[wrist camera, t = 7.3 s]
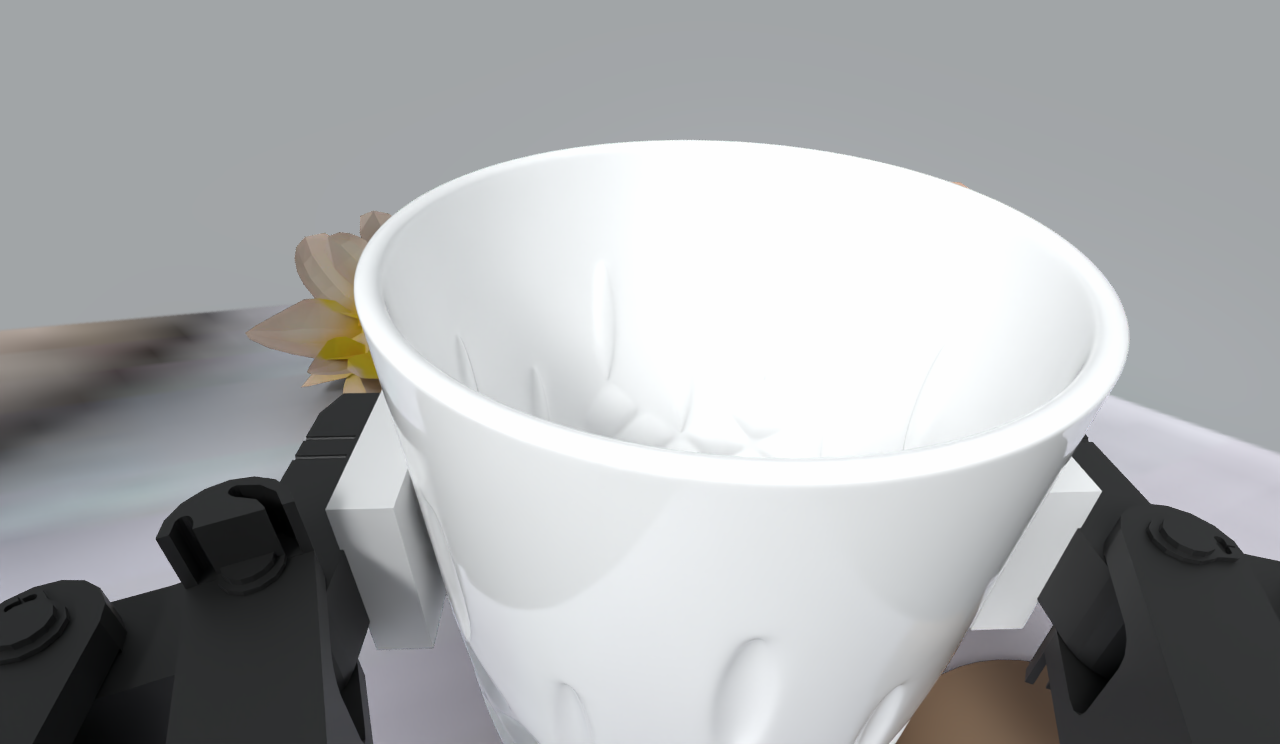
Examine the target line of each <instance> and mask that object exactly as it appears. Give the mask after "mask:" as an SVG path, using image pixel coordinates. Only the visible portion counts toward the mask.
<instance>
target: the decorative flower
mask: <svg viewBox="0 0 1280 744" xmlns="http://www.w3.org/2000/svg"><path fill="white" fill-rule="evenodd" d="M390 217H391V215H390V214H387V213H382V212H377V211H371V212H369V213H367V214H364V215H362V216H360V235H361V238H360V237H358V236H355V235H352V234H350V233H341V232H339V233H336V234H333V235H331V236H329V235H327V234H325V233H321V234H317V235H312V236H307V237H305V238H304V239H303V240H302V241H301V242H300V243H299V245H298V246H297V247H296V252H295V263H296V268H297V272H298V274H299V276H300V278H301V280H302V282H303V284H304V285H305V286H306V288H307V289H308V290H309V291H310V293H311V294H312V295H313V296H314V298H315V299H304V300H302V301H300V302H298V303H297V304H295V305H293V306H291V307H289V308H287V309H285V310H283V311H282V312H280V313H278V314H276V315H274V316H272V317H271V318H269V319H267V320H265V321H263V322H262V323H260V324H258V325H256V326H255V327H253V328H252V329H250V330H249V331H248V332H246V335H247V336H248V338H249V339H251V340H253V341H255V342H257V343H259V344H261V345H264V346H266V347H268V348H271V349H275V350H278V351H282V352H286V353H290V354H294V355H300V356H305V357H311V358H315V359H314V361H313V362H312V364H311V365H310V367H309V369H308V371H307V372H308V373H310V374H311V376H310V377H309V378H308V380H307V381H306V382H305V383H304V384H303V386H302V387H306V386H312V385H316V384H319V383H324V382H329V381H334V380H338V379H343V378H346V380H345V384H344V388H343V394H344V393H381V391H382V387H381V384H380V381H379V378H378V375H377V372H376V369H375V366H374V363H373V360H372V357H371V354H370V351H369V348H368V344H367V341H366V338H365V335H364V332H363V329H362V326H361V323H360V320H359V317H358V314H357V310H356V306H355V300H354V277H355V271H356V267H357V264H358V261H359V259H360V256H361V254H362V252H363V250H364V248H365V247H366V245H367V243H368V242H369V240H370V239H371V238H372V236H373V235H374V234H375V232H376V231H377V230H378V229H379V228H380V227H381V226H382V225H383V224H384V223H385V222H386V221H387V220H388V219H389V218H390ZM302 387H301V388H302Z"/></svg>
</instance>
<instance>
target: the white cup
mask: <svg viewBox="0 0 1280 744" xmlns="http://www.w3.org/2000/svg"><path fill="white" fill-rule="evenodd" d="M354 300H355V306H356V310H357V314H358V317H359V320H360V323H361V326H362V329H363V332H364V335H365V338H366V341H367V344H368V348H369V351H370V354H371V357H372V360H373V363H374V366H375V369H376V372H377V375H378V378H379V381H380V384H381V387H382V391H383V394H384V397H385V400H386V403H387V406H388V409H389V412H390V415H391V418H392V421H393V425H394V428H395V431H396V434H397V437H398V440H399V443H400V446H401V449H402V452H403V456H404V459H405V462H406V465H407V468H408V471H409V475H410V478H411V481H412V484H413V487H414V490H415V494H416V497H417V500H418V503H419V506H420V510H421V513H422V516H423V519H424V522H425V526H426V529H427V532H428V535H429V538H430V542H431V545H432V548H433V551H434V555H435V558H436V561H437V564H438V567H439V571H440V574H441V577H442V580H443V583H444V587H445V590H446V593H447V596H448V599H449V603H450V606H451V609H452V612H453V615H454V618H455V620H456V623H457V625H458V628H459V631H460V633H461V636H462V638H463V641H464V644H465V646H466V649H467V651H468V654H469V657H470V659H471V662H472V664H473V667H474V671H475V675H476V679H477V682H478V685H479V688H480V690H481V693H482V696H483V698H484V701H485V703H486V706H487V709H488V711H489V713H490V716H491V718H492V721H493V723H494V725H495V728H496V730H497V732H498V734H499V736H500V738H501V741H502V743H503V744H896V742H897V741H898V739H899V737H900V736H901V734H902V733H903V731H904V729H905V728H906V726H907V724H908V723H909V721H910V719H911V718H912V716H913V715H914V714H915V712H916V711H917V709H918V708H919V706H920V705H921V704H922V702H923V701H924V699H925V698H926V697H927V695H928V694H929V692H930V691H931V689H932V688H933V686H934V685H935V684H936V682H937V681H938V679H939V678H940V676H941V675H942V673H943V671H944V670H945V668H946V667H947V665H948V664H949V662H950V660H951V659H952V657H953V655H954V654H955V652H956V650H957V649H958V647H959V645H960V643H961V642H962V640H963V638H964V637H965V635H966V633H967V631H968V630H969V628H970V626H971V625H972V623H973V621H974V620H975V618H976V616H977V615H978V613H979V611H980V609H981V608H982V606H983V604H984V603H985V601H986V599H987V598H988V596H989V594H990V593H991V591H992V589H993V588H994V586H995V584H996V582H997V581H998V579H999V577H1000V576H1001V574H1002V572H1003V571H1004V569H1005V567H1006V566H1007V564H1008V562H1009V560H1010V559H1011V557H1012V555H1013V554H1014V552H1015V550H1016V549H1017V547H1018V545H1019V544H1020V542H1021V540H1022V538H1023V537H1024V535H1025V533H1026V532H1027V530H1028V528H1029V527H1030V525H1031V523H1032V522H1033V520H1034V518H1035V517H1036V515H1037V513H1038V511H1039V510H1040V508H1041V506H1042V505H1043V503H1044V501H1045V500H1046V498H1047V496H1048V495H1049V493H1050V491H1051V490H1052V488H1053V486H1054V485H1055V483H1056V481H1057V480H1058V478H1059V476H1060V475H1061V473H1062V471H1063V470H1064V468H1065V466H1066V465H1067V463H1068V461H1069V460H1070V458H1071V457H1072V455H1073V453H1074V452H1075V450H1076V448H1077V447H1078V445H1079V443H1080V442H1081V440H1082V438H1083V437H1084V435H1085V433H1086V432H1087V430H1088V428H1089V427H1090V425H1091V423H1092V422H1093V420H1094V419H1095V417H1096V415H1097V414H1098V412H1099V410H1100V409H1101V407H1102V405H1103V404H1104V402H1105V400H1106V399H1107V397H1108V395H1109V394H1110V392H1111V390H1112V389H1113V387H1114V386H1115V384H1116V382H1117V381H1118V379H1119V377H1120V375H1121V373H1122V370H1123V368H1124V365H1125V362H1126V359H1127V355H1128V349H1129V326H1128V321H1127V317H1126V313H1125V311H1124V308H1123V306H1122V304H1121V301H1120V299H1119V297H1118V295H1117V293H1116V292H1115V290H1114V288H1113V287H1112V285H1111V284H1110V282H1109V281H1108V280H1107V278H1106V277H1105V276H1104V275H1103V274H1102V273H1101V271H1100V270H1099V269H1098V268H1097V267H1096V266H1095V265H1094V264H1093V263H1092V262H1091V261H1090V260H1089V259H1088V258H1087V257H1086V256H1085V255H1084V254H1083V253H1082V252H1081V251H1079V250H1078V249H1077V248H1076V247H1075V246H1073V245H1072V244H1071V243H1069V242H1068V241H1067V240H1065V239H1064V238H1062V237H1061V236H1060V235H1058V234H1056V232H1054V231H1052V230H1051V229H1049V228H1048V227H1046V226H1045V225H1043V224H1041V223H1039V222H1038V221H1036V220H1034V219H1033V218H1031V217H1029V216H1027V215H1025V214H1023V213H1022V212H1020V211H1018V210H1016V209H1014V208H1012V207H1010V206H1008V205H1006V204H1004V203H1002V202H999V201H997V200H995V199H993V198H990V197H988V196H985V195H983V194H981V193H978V192H976V191H973V190H971V189H968V188H966V187H963V186H960V185H957V184H955V183H952V182H949V181H946V180H942V179H940V178H936V177H933V176H930V175H927V174H923V173H920V172H916V171H913V170H910V169H906V168H902V167H898V166H894V165H890V164H886V163H882V162H878V161H873V160H869V159H864V158H859V157H854V156H849V155H844V154H838V153H832V152H826V151H820V150H814V149H807V148H799V147H790V146H783V145H773V144H763V143H749V142H735V141H713V140H710V141H709V140H657V141H636V142H621V143H610V144H600V145H591V146H584V147H576V148H569V149H562V150H557V151H551V152H545V153H540V154H535V155H531V156H526V157H522V158H518V159H514V160H510V161H506V162H503V163H499V164H496V165H492V166H489V167H486V168H483V169H480V170H477V171H474V172H471V173H468V174H466V175H463V176H461V177H458V178H456V179H454V180H451V181H449V182H447V183H445V184H443V185H440V186H438V187H436V188H434V189H432V190H430V191H428V192H427V193H425V194H423V195H421V196H420V197H418V198H416V199H415V200H413V201H412V202H410V203H408V204H407V205H406V206H404V207H403V208H402V209H400V210H399V211H398V212H396V213H395V214H394V215H393V216H391V217H390V218H389V219H388V220H387V221H386V222H385V223H384V224H383V225H382V226H381V227H380V228H379V229H378V230H377V231H376V232H375V234H374V235H373V236H372V238H371V239H370V240H369V242H368V243H367V245H366V247H365V248H364V250H363V252H362V254H361V256H360V259H359V261H358V264H357V267H356V271H355V277H354Z"/></svg>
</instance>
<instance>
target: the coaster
mask: <svg viewBox="0 0 1280 744" xmlns="http://www.w3.org/2000/svg"><path fill="white" fill-rule="evenodd" d="M1029 663H1030V662H1028V661H1021V660H992V661H982V662H976V663H972V664H968V665H964V666H960V667H958V668H956V669H953V670H951V671H949V672H947V673H944V674H943V675H941V676H940V678H939V679H938V681H937V682H936V684H935V685H934V686H933V688H932V689H931V691H930V692H929V694H928V695H927V697H926V698H925V699H924V701H923V702H922V704H921V705H920V706H919V708H918V709H917V711H916V712H915V714H914V715H913V716H912V718H911V719H910V721H909V723H908V724H907V726H906V728H905V729H904V731H903V733H902V734H901V736H900V737H899V739H898V741H897V742H896V744H1060V742H1059V736H1058V730H1057V724H1056V719H1055V713H1054V707H1053V701H1052V695H1051V690H1050V689H1046V685H1047V683H1048V681H1049V677H1048V671H1047V665H1046V666H1045V667H1044V669H1043V670H1042V672H1041V673H1040V675H1039V677H1038V678H1037V680H1036V681H1035V683H1034V684H1029V683H1026V682H1025V675H1026V668H1027V667H1028V665H1029Z"/></svg>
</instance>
